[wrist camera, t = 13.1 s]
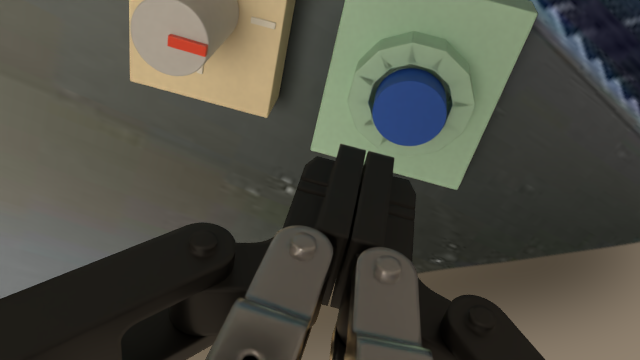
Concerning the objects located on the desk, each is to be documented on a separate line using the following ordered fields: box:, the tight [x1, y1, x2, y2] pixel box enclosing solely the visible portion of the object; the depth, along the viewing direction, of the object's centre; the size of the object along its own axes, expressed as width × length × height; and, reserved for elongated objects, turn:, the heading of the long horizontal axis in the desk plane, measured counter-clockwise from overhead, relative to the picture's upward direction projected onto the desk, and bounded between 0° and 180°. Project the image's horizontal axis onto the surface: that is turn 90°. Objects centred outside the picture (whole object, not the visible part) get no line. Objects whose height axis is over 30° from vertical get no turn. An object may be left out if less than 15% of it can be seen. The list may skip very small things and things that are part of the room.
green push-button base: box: [311, 0, 538, 190], centre depth 32 cm, size 12×10×4 cm
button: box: [372, 68, 447, 146], centre depth 30 cm, size 4×4×2 cm
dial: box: [130, 0, 239, 76], centre depth 28 cm, size 4×4×5 cm
